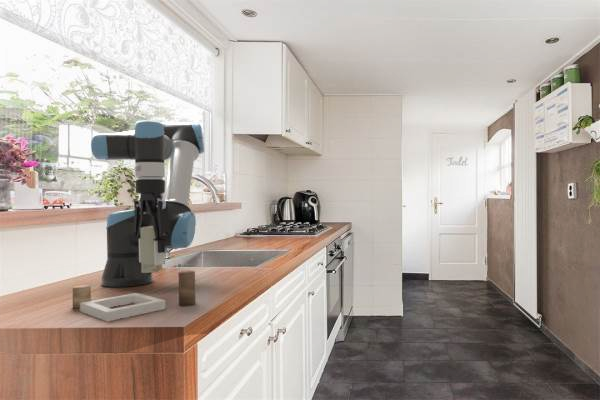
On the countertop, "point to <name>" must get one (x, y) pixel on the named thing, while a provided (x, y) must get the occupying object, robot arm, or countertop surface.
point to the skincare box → (148, 250)
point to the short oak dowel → (81, 295)
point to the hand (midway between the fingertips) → (151, 263)
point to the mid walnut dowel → (186, 288)
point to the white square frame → (106, 313)
